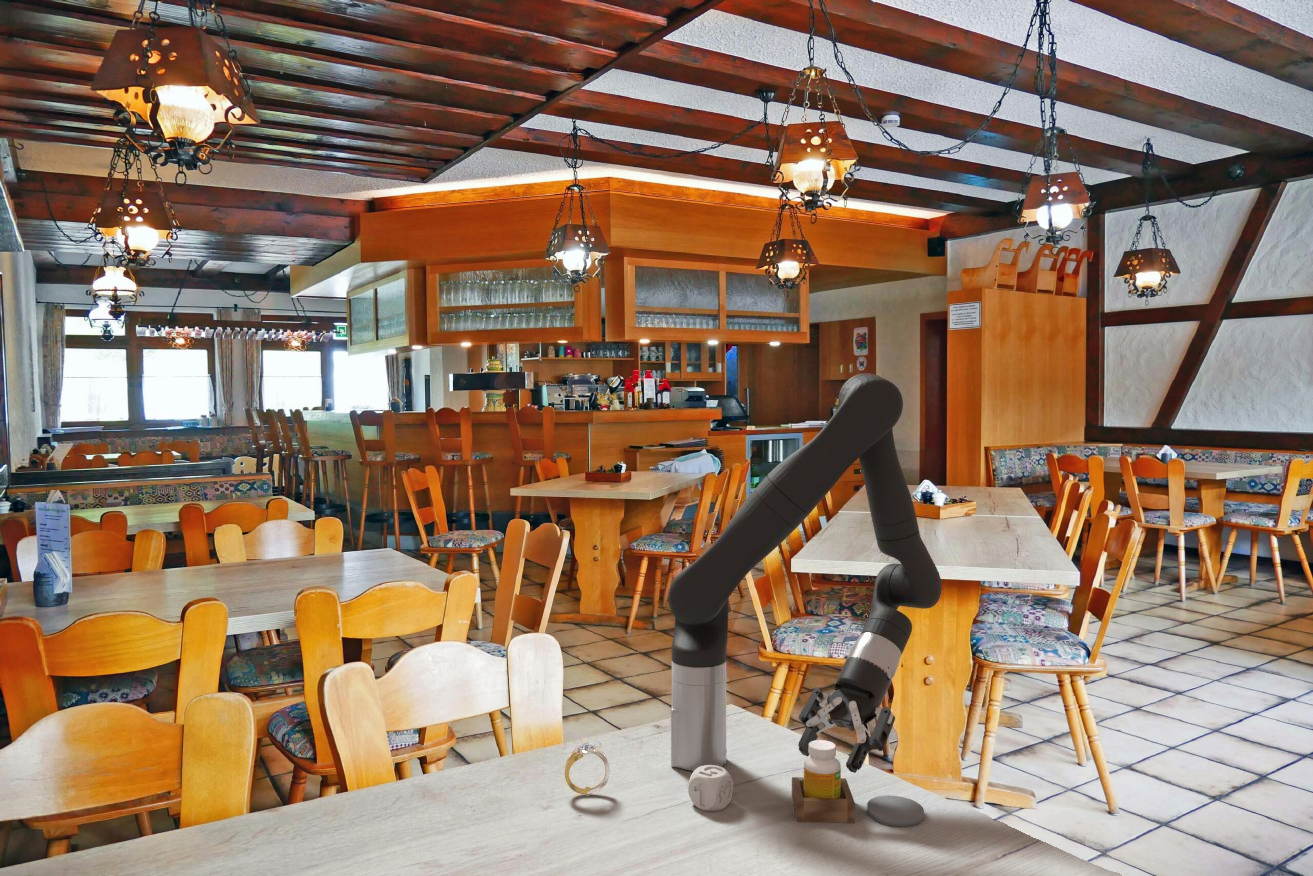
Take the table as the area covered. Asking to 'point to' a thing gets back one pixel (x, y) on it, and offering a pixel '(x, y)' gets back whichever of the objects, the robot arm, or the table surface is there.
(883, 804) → the rubber coaster
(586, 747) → the ring
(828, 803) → the walnut collar
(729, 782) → the die
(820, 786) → the supplement bottle
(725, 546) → the robot arm
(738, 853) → the table surface
